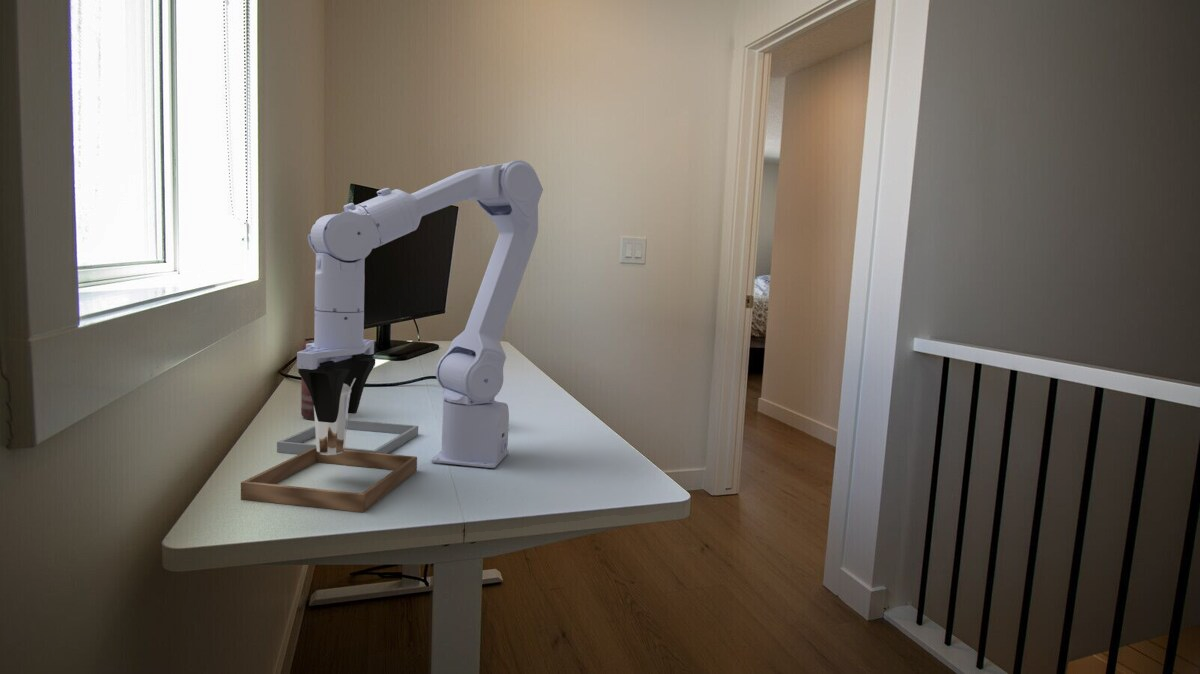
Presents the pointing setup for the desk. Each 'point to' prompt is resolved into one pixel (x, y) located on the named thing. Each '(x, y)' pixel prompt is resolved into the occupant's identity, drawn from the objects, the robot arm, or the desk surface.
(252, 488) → the brown wooden frame
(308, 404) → the can
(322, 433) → the milkshake
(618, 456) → the desk surface
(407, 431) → the grey square frame
